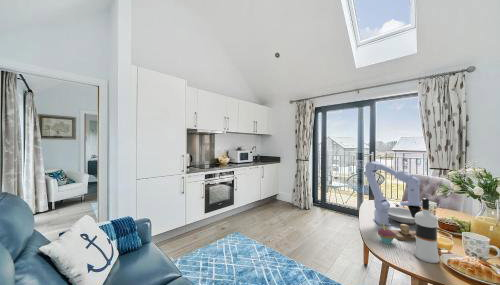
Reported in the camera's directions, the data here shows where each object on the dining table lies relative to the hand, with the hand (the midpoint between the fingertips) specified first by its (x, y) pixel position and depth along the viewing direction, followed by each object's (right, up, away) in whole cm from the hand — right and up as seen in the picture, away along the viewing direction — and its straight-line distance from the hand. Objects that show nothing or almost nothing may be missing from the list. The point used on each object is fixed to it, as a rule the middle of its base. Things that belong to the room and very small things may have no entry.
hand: (414, 217), depth 123 cm
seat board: (-7, -10, -5) cm, 13 cm away
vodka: (-16, -10, -27) cm, 33 cm away
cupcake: (-25, -11, -10) cm, 29 cm away
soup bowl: (+7, -10, +18) cm, 22 cm away
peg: (-10, -10, -5) cm, 15 cm away
